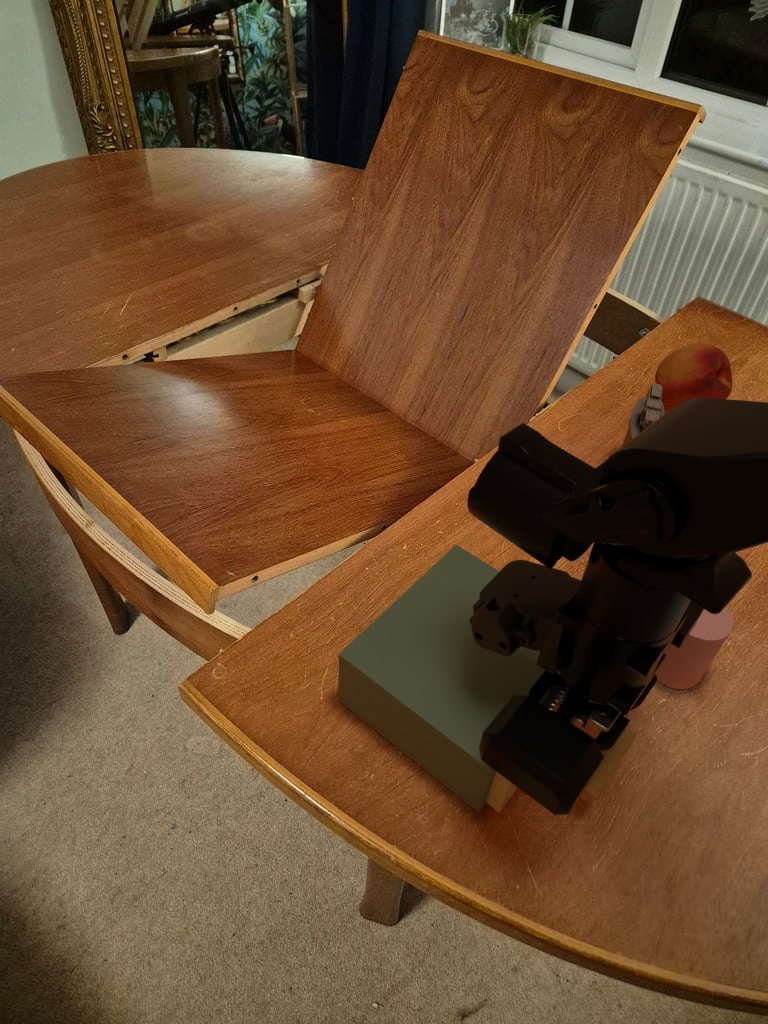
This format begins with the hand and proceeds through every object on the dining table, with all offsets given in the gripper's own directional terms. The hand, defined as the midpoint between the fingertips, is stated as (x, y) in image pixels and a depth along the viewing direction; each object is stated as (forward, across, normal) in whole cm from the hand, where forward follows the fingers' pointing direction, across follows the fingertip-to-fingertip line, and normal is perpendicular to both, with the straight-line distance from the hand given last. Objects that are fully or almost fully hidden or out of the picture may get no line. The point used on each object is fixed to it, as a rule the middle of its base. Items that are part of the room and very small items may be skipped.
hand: (571, 737), depth 53 cm
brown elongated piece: (+4, -33, -11) cm, 35 cm away
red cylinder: (+4, -14, +3) cm, 15 cm away
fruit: (+4, -49, -12) cm, 51 cm away
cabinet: (+4, 0, -9) cm, 10 cm away
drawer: (+3, 0, -5) cm, 6 cm away
